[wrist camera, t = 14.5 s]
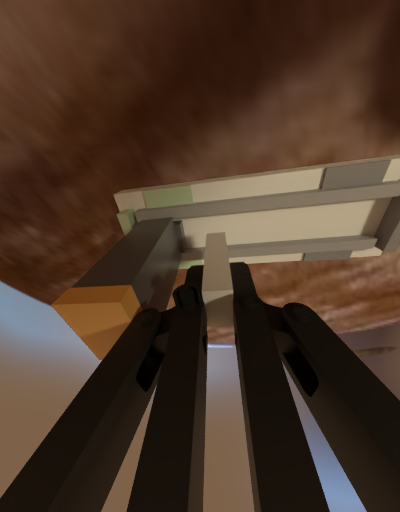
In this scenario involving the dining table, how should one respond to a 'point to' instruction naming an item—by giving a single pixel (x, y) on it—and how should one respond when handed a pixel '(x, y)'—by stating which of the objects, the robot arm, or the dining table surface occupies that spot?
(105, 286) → the handle
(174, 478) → the robot arm
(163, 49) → the dining table surface
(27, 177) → the dining table surface
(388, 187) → the board
